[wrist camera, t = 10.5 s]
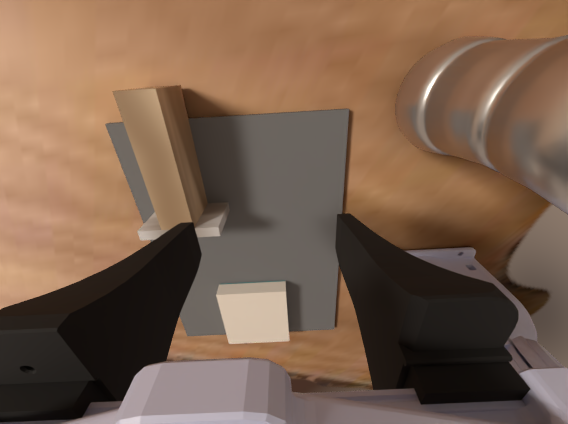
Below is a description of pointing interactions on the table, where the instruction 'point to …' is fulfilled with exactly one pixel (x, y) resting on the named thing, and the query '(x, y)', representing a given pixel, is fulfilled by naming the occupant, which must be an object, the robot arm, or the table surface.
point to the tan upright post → (168, 161)
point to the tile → (254, 311)
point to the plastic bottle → (494, 108)
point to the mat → (263, 209)
